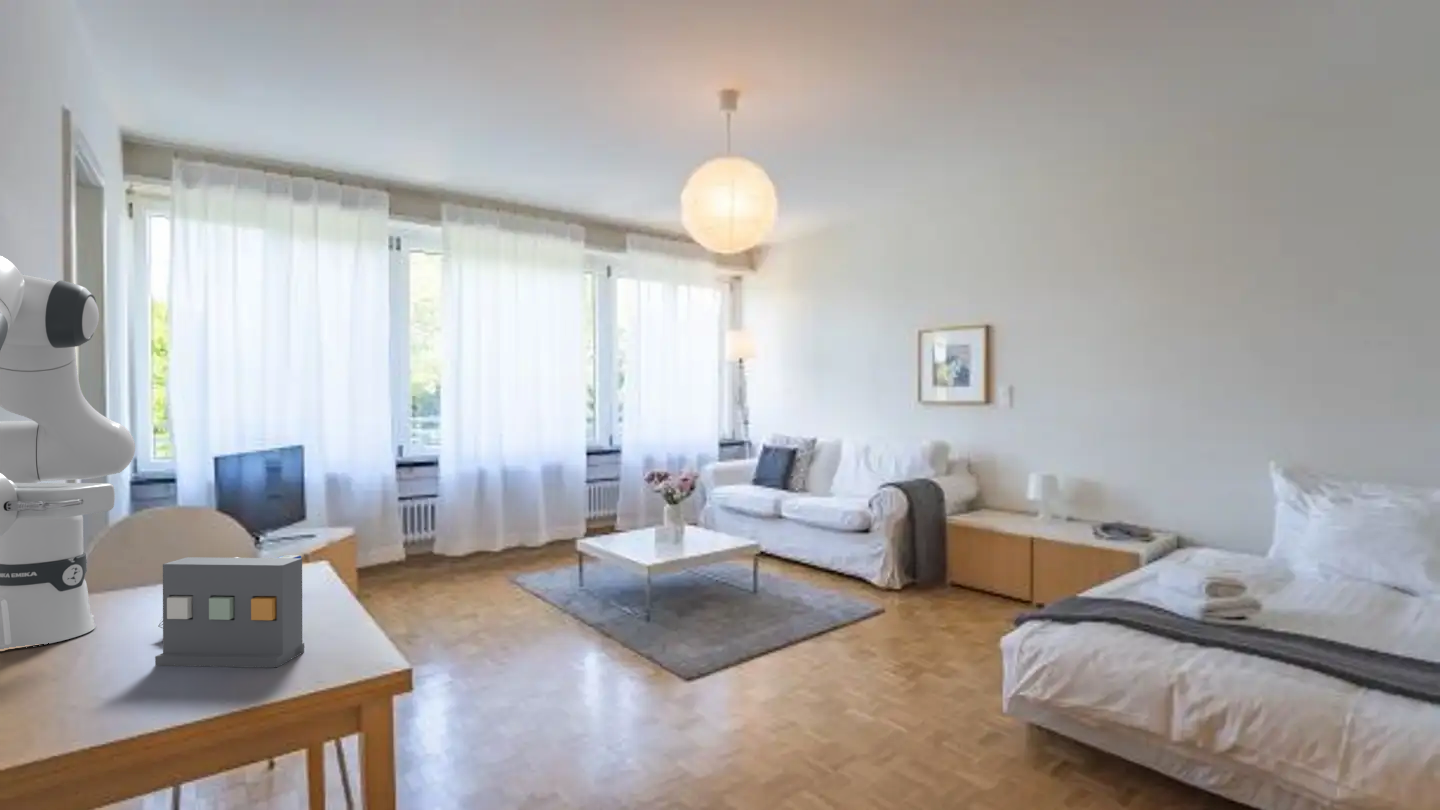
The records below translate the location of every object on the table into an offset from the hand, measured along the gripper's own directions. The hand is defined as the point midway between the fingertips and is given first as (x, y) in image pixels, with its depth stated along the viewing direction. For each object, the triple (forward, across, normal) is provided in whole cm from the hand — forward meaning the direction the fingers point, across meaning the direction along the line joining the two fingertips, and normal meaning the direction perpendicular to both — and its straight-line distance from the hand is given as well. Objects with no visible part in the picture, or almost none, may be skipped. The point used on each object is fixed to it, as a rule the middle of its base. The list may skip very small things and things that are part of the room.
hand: (79, 491), depth 97 cm
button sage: (+17, -8, +23) cm, 29 cm away
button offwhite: (+17, -1, +23) cm, 28 cm away
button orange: (+17, -15, +23) cm, 32 cm away
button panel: (+19, -8, +30) cm, 36 cm away
